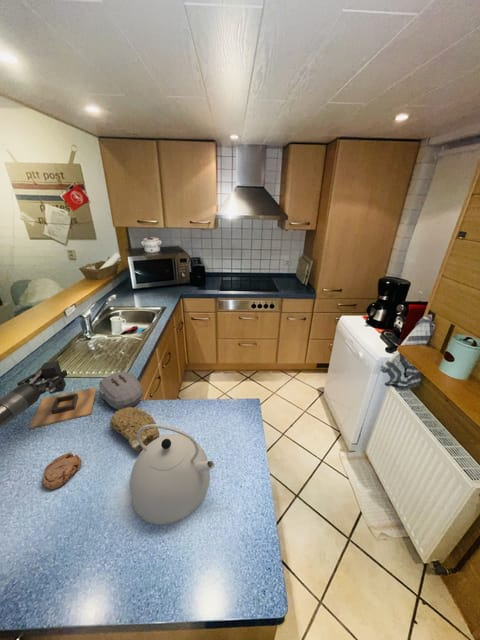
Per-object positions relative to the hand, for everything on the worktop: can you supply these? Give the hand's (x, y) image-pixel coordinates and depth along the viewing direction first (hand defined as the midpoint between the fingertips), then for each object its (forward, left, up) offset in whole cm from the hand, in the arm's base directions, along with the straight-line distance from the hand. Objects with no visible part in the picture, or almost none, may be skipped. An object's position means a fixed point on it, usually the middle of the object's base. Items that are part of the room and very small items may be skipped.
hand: (58, 371), depth 96 cm
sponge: (+25, -24, -17) cm, 39 cm away
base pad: (-1, -1, -16) cm, 17 cm away
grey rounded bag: (+20, -3, -17) cm, 27 cm away
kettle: (+36, -47, -17) cm, 62 cm away
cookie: (+4, -32, -17) cm, 37 cm away
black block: (-1, -2, -6) cm, 7 cm away
